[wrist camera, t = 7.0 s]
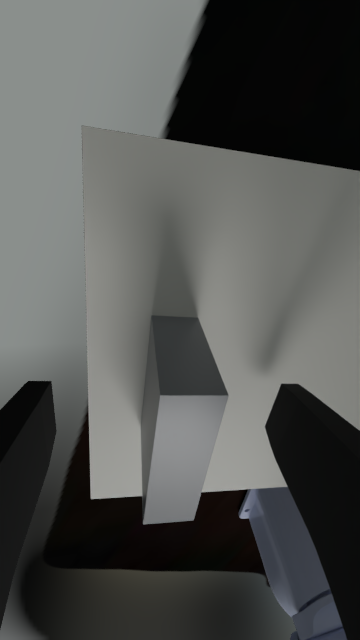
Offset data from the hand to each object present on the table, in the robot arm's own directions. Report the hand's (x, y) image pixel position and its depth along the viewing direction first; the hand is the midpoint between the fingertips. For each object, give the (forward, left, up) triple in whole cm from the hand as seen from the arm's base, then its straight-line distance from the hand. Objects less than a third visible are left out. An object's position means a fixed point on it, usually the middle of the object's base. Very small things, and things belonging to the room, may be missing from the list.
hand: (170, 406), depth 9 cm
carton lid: (0, -4, -2) cm, 5 cm away
